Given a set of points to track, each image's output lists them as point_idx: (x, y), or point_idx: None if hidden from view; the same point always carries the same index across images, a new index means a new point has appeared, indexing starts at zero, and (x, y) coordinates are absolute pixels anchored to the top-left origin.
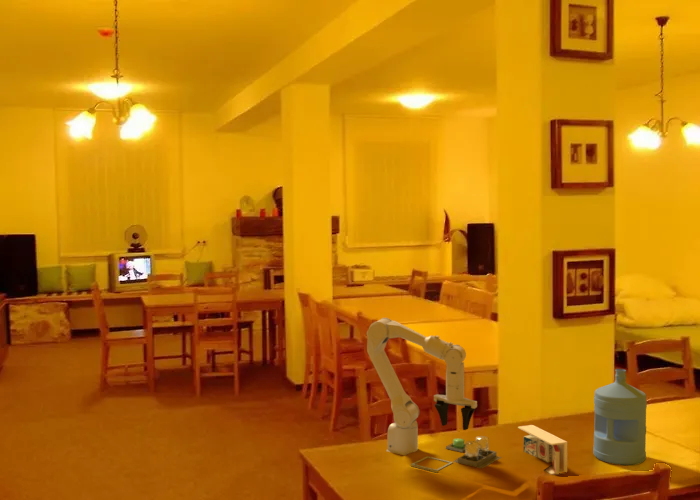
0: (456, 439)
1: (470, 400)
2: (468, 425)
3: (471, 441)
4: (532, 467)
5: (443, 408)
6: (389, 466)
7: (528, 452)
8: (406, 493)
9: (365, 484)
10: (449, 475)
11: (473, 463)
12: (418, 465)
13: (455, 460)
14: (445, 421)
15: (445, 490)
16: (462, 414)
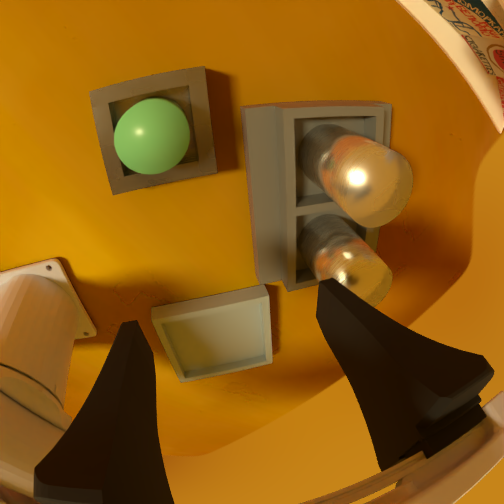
0: (129, 137)
1: (483, 468)
2: (348, 293)
3: (355, 280)
4: (465, 103)
5: (156, 479)
6: None
7: (442, 7)
8: (276, 416)
9: (192, 438)
10: (296, 331)
11: None
12: (203, 375)
13: (260, 270)
14: (143, 358)
15: (331, 373)
16: (371, 425)
